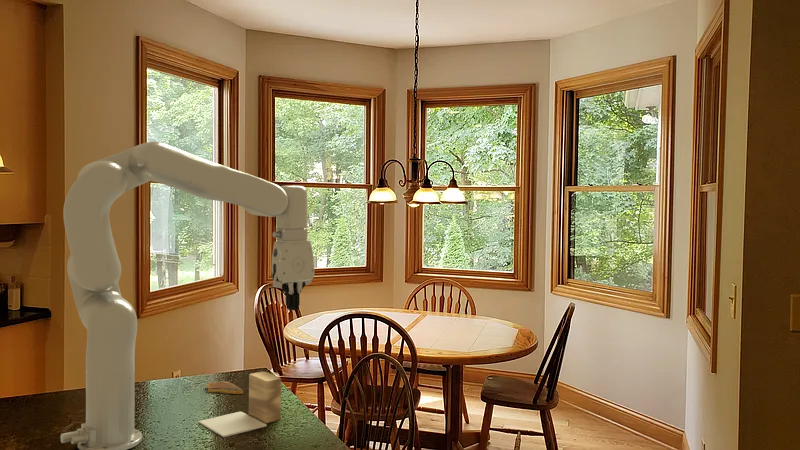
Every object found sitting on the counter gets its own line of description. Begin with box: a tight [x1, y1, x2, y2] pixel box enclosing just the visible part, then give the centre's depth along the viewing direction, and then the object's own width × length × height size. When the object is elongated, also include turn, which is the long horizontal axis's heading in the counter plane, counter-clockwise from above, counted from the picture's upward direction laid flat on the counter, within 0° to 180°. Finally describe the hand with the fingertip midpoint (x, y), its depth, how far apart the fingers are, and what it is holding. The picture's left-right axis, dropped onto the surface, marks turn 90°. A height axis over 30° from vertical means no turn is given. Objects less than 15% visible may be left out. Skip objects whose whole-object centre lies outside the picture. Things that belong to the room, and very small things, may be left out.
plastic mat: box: [198, 410, 268, 438], centre depth 153 cm, size 11×12×1 cm
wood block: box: [248, 371, 282, 424], centre depth 158 cm, size 4×8×10 cm, turn 43°
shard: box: [205, 380, 245, 395], centre depth 178 cm, size 11×8×2 cm
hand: (292, 309), depth 162 cm, fingers closed
